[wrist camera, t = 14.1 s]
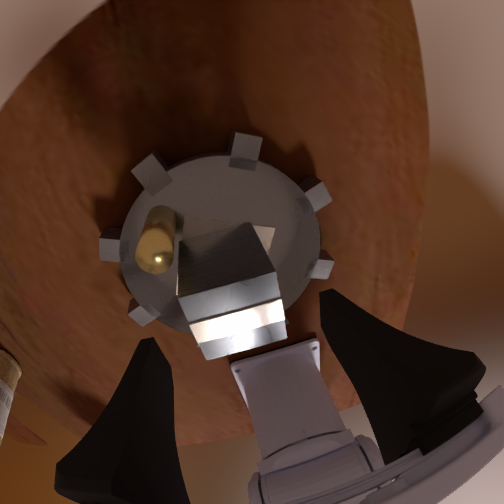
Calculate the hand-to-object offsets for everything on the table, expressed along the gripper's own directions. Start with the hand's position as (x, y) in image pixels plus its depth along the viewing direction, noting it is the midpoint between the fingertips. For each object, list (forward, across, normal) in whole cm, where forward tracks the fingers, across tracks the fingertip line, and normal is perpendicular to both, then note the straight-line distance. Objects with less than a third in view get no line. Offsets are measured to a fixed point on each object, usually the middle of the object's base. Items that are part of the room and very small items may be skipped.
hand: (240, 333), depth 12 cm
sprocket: (+8, 0, 0) cm, 8 cm away
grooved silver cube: (+6, 0, 0) cm, 6 cm away
